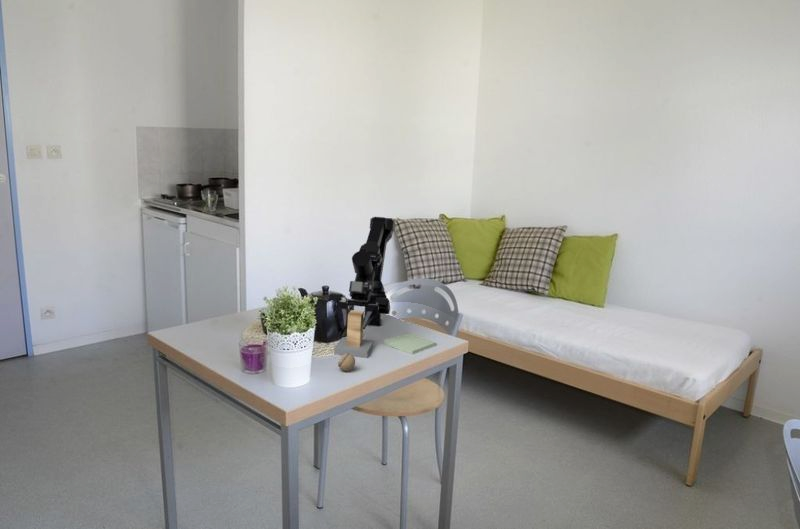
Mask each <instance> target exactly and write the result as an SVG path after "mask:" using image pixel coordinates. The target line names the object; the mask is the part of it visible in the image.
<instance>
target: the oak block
mask: <svg viewBox="0 0 800 529" xmlns="http://www.w3.org/2000/svg"><path fill="white" fill-rule="evenodd" d="M364 313H365V310H364V311H363V310H362V311H361V310H353V309H351V310H350V311H349V313H348V321H347V326H346V328H347V330H346V338H347V346H354V347H360V346H361V344H362V340H363V339H364V338H363V335H364V330H363V319H364Z"/></svg>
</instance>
